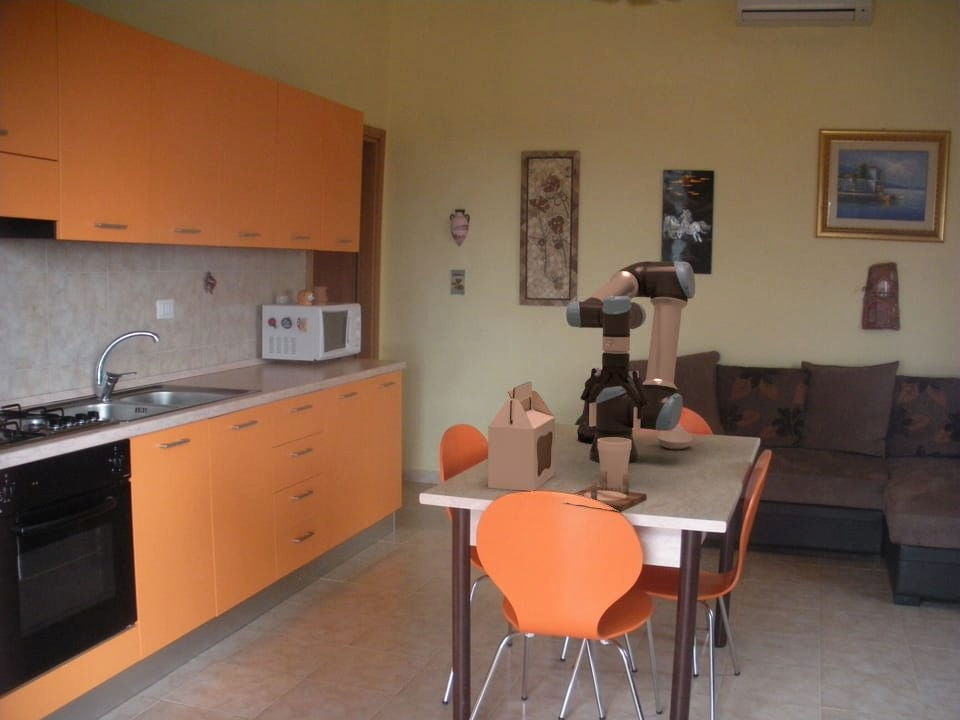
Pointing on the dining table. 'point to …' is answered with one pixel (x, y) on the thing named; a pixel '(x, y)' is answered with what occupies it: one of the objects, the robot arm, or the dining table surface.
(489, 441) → the gable box
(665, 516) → the dining table surface
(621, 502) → the pin board
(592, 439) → the black backpack
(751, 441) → the dining table surface
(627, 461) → the foam cup
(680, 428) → the spoon rest
